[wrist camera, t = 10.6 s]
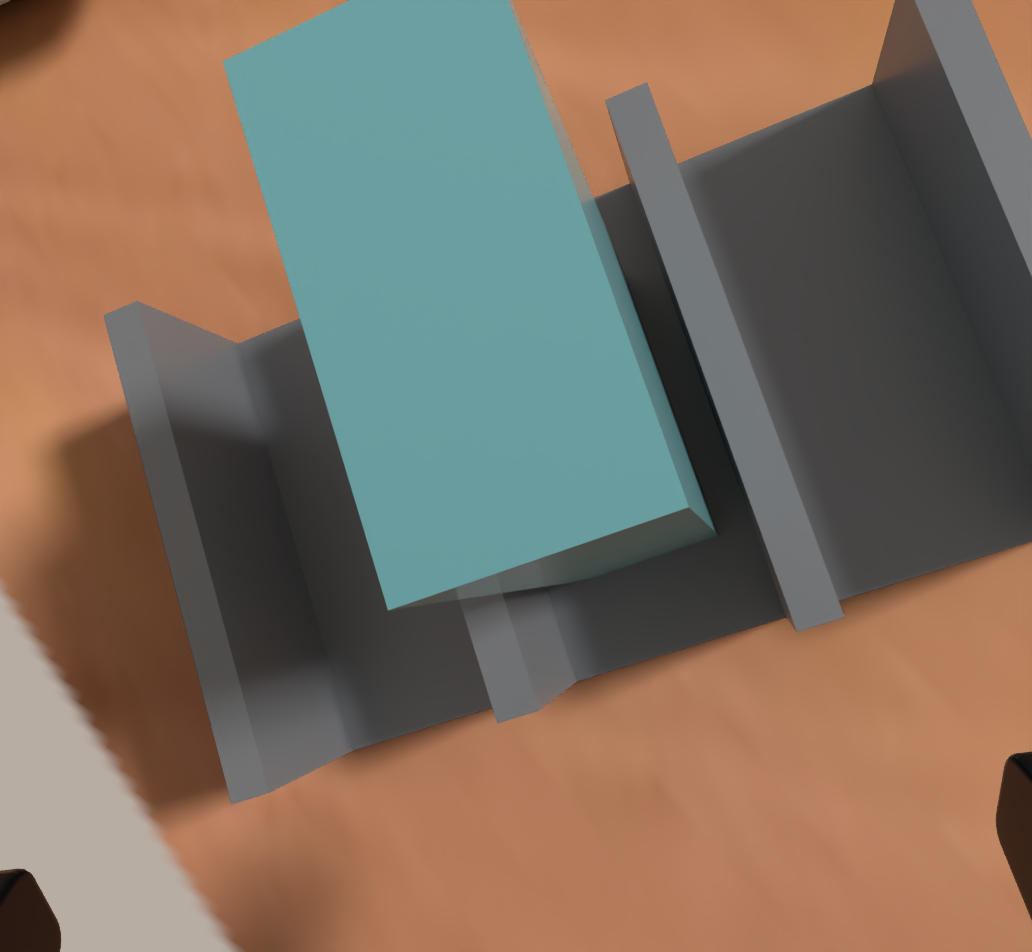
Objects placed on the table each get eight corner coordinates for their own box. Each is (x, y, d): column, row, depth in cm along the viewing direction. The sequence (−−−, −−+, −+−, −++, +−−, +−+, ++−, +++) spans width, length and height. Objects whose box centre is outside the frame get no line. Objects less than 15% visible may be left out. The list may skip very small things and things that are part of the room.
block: (719, 535, 20) (689, 507, 9) (586, 580, 21) (388, 610, 9) (626, 277, 21) (484, -66, 9) (500, 326, 22) (222, 61, 10)
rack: (1084, 522, 19) (1192, 511, 15) (336, 753, 23) (232, 804, 18) (903, 86, 21) (950, -48, 16) (226, 361, 24) (103, 315, 19)
